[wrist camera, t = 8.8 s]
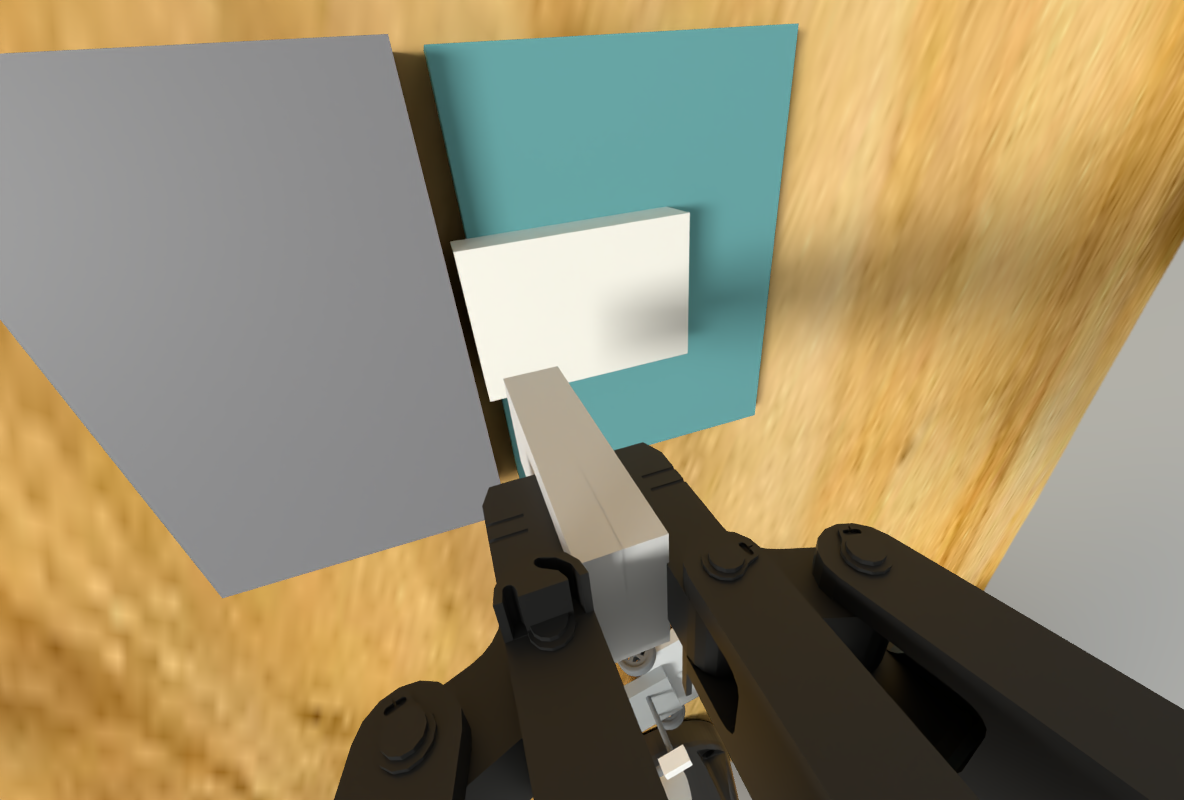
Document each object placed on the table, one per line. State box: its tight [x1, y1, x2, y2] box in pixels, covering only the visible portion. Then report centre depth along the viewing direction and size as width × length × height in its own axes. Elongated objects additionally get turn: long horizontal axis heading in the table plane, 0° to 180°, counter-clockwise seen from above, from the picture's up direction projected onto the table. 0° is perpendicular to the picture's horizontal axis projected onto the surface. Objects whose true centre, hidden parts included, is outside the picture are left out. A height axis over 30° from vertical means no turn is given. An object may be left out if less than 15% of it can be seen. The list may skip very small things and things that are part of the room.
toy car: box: [618, 629, 698, 800], centre depth 35 cm, size 18×10×12 cm
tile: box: [450, 207, 690, 402], centre depth 19 cm, size 6×9×2 cm, turn 96°
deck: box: [0, 34, 501, 598], centre depth 17 cm, size 18×12×3 cm, turn 5°
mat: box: [424, 24, 798, 478], centre depth 21 cm, size 18×14×1 cm
